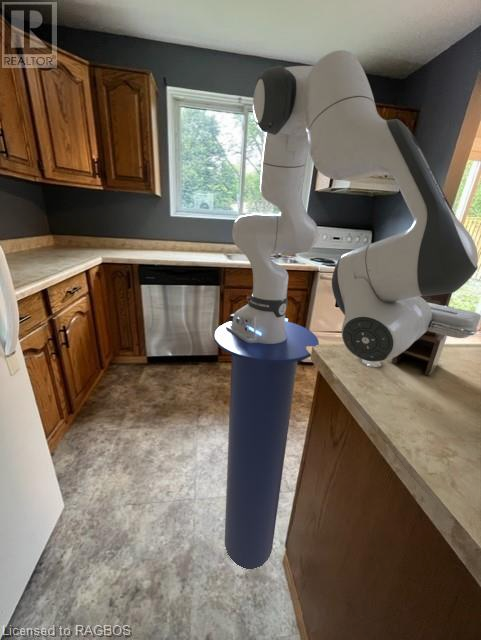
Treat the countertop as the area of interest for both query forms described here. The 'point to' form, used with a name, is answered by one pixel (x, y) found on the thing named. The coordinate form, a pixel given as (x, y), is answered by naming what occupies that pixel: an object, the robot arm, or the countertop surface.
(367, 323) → the robot arm
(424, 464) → the countertop surface
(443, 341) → the shelf
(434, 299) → the box
